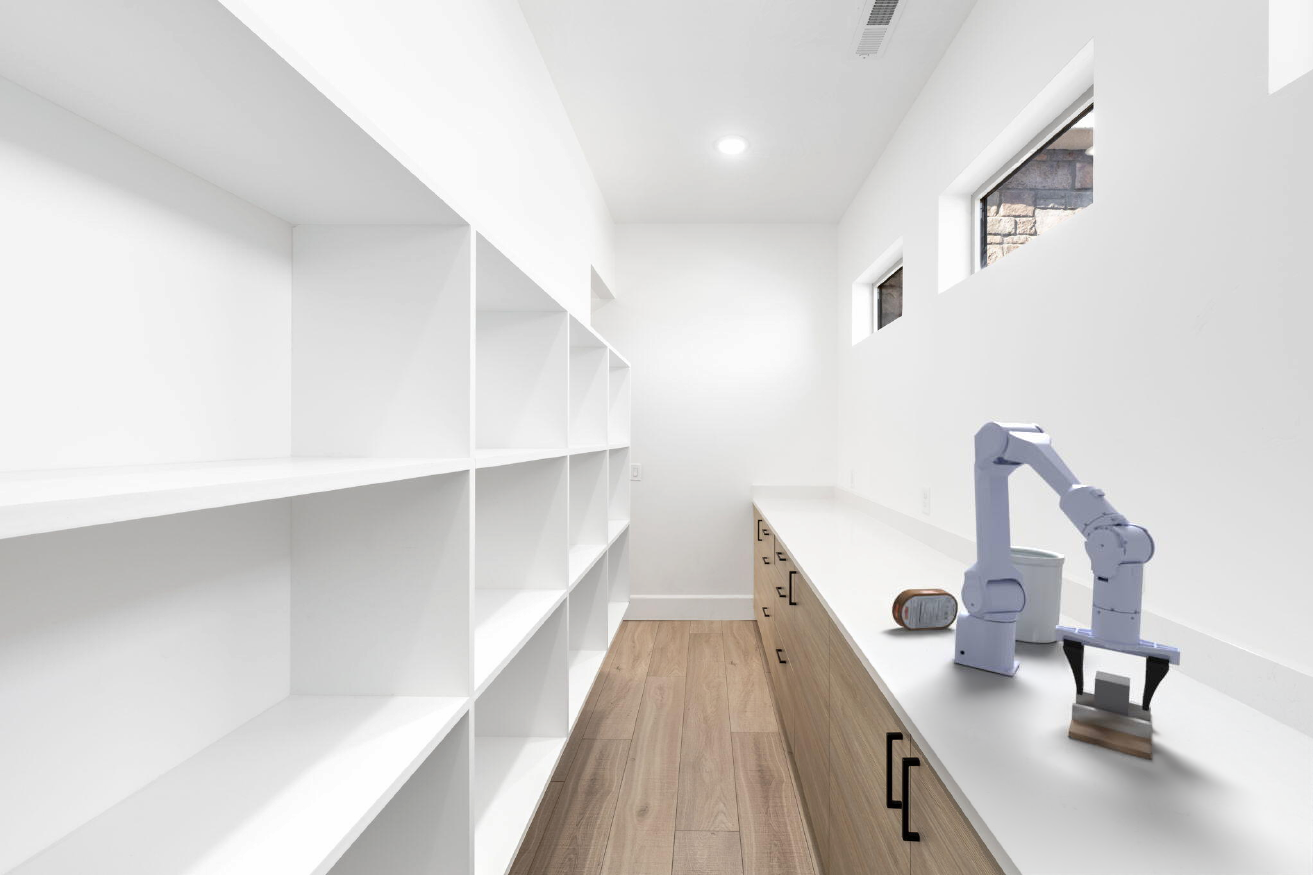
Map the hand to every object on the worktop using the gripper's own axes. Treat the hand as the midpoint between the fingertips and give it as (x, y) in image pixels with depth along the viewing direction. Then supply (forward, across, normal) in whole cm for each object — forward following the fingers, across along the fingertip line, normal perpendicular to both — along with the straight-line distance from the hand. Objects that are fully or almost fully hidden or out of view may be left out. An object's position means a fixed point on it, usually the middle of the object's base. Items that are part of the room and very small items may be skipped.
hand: (1111, 700), depth 90 cm
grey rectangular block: (+3, 0, 0) cm, 3 cm away
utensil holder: (+4, -17, +40) cm, 44 cm away
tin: (+4, -33, +28) cm, 43 cm away
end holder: (+3, 0, 0) cm, 3 cm away
